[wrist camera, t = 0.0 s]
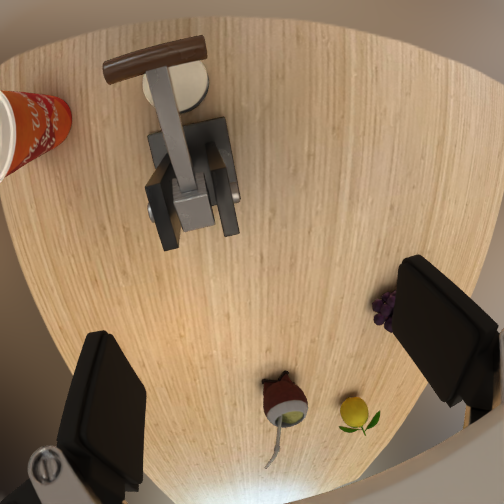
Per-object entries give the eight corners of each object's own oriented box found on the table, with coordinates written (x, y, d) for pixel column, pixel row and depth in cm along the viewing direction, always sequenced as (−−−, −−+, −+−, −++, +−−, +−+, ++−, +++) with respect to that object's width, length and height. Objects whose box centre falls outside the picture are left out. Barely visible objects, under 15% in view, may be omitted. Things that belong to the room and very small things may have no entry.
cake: (141, 64, 25) (133, 58, 22) (203, 49, 26) (203, 41, 22) (153, 120, 29) (147, 122, 25) (214, 106, 29) (216, 106, 25)
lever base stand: (148, 134, 29) (111, 157, 16) (224, 116, 30) (244, 124, 17) (169, 213, 33) (153, 286, 20) (239, 196, 34) (268, 259, 21)
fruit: (366, 272, 46) (448, 264, 44) (364, 329, 49) (440, 318, 47) (384, 304, 36) (478, 290, 34) (377, 367, 39) (464, 351, 37)
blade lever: (107, 56, 12) (97, 69, 11) (201, 31, 12) (205, 39, 11) (162, 213, 22) (163, 237, 20) (230, 197, 22) (236, 220, 21)
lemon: (366, 385, 55) (386, 422, 47) (357, 402, 58) (374, 438, 49) (338, 391, 54) (356, 431, 45) (329, 408, 57) (345, 446, 48)
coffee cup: (85, 150, 28) (14, 187, 15) (26, 165, 27) (-54, 209, 14) (78, 76, 24) (1, 66, 11) (18, 96, 23) (-69, 107, 10)
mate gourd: (305, 371, 49) (334, 443, 36) (284, 398, 52) (306, 467, 39) (265, 366, 47) (288, 445, 34) (247, 395, 50) (263, 469, 37)
